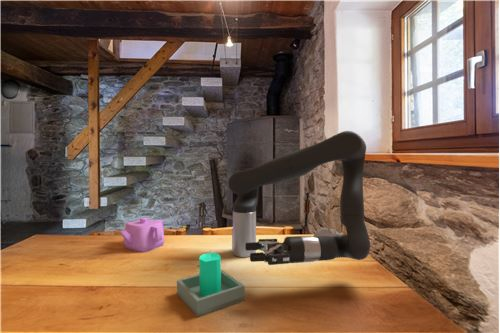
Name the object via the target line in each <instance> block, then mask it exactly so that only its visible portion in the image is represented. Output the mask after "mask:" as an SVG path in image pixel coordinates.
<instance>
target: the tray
mask: <svg viewBox="0 0 500 333" xmlns="http://www.w3.org/2000/svg"><path fill="white" fill-rule="evenodd" d="M245 287H246V286H245V285H244V284H242V283H241V282H240V281H239V280H237V279H236V278H234V277H233V276H231V275H229V274H228V273H227V272H226V271H224V270H222V269H221V291H220V292H217V293H214V294H211V295H208V296H205V297H201V296H200V281H199V273H198V274H196V275H192V276H187V277H184V278H180V279H176V295H177V296H178V297H179V298H180V299H181V300H182V301H183V302H184V304H185V305H186V306H187V308H189V309H190V310H191V312H193V314H194V315H195V316H196V317H197V318H199V317H201V316H204V315H207V314H209V313H212V312H215V311H218V310H220V309H223V308H226V307H229V306H233V305H235V304H237V303H240V302H243V301H245V300H246V298H245V295H246V294H245V293H246V292H245Z"/></svg>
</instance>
